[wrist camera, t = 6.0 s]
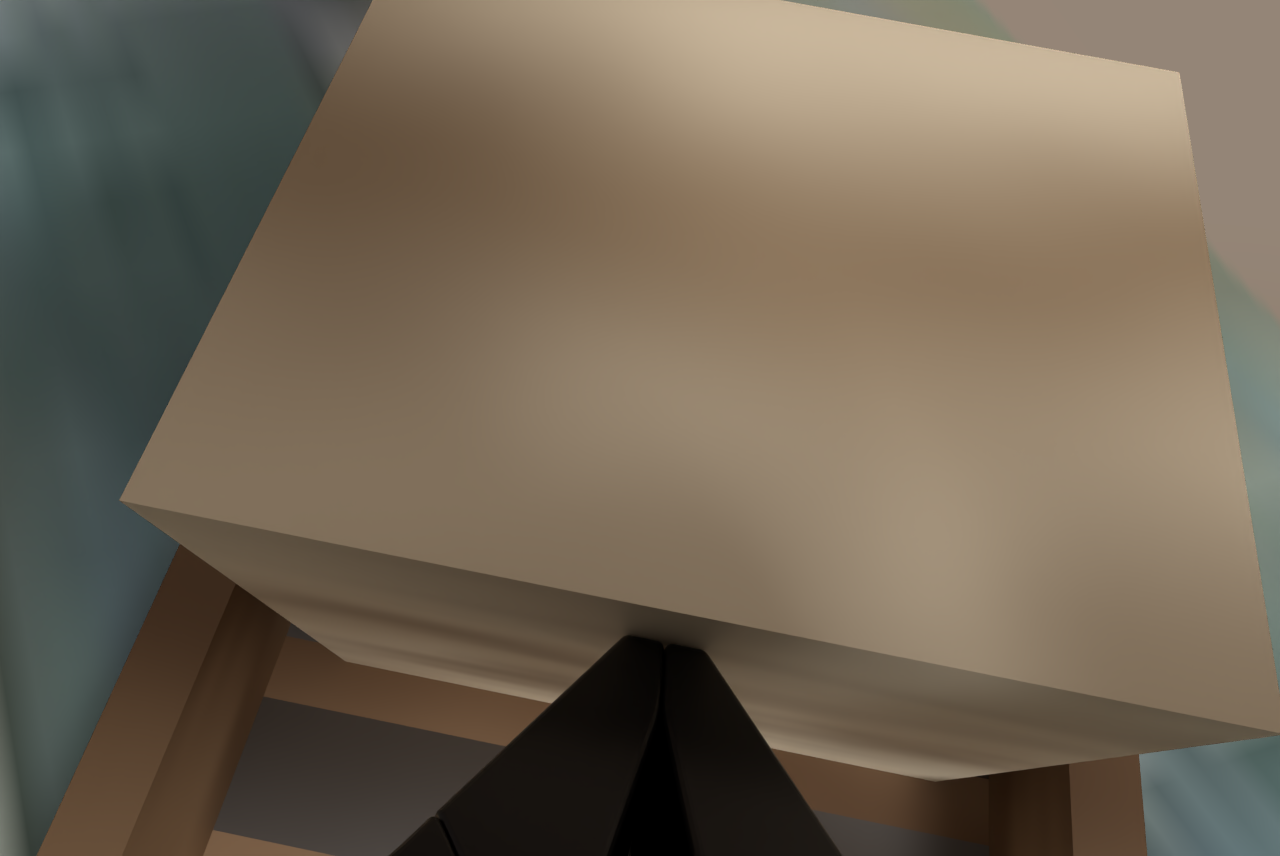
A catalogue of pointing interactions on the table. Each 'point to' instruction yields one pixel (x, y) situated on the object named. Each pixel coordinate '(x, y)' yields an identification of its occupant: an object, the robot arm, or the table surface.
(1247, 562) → the birch block
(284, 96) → the table surface
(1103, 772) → the channel
